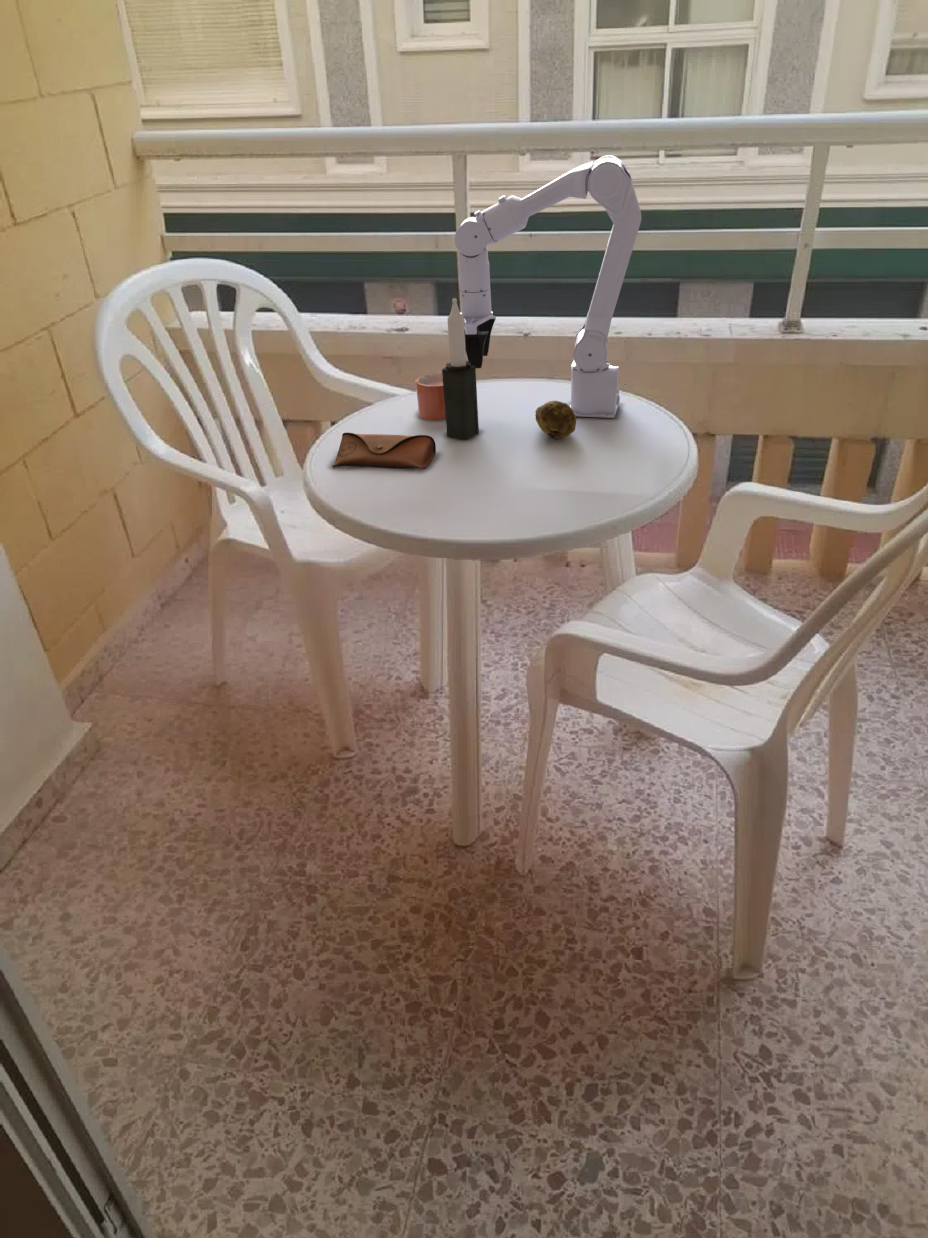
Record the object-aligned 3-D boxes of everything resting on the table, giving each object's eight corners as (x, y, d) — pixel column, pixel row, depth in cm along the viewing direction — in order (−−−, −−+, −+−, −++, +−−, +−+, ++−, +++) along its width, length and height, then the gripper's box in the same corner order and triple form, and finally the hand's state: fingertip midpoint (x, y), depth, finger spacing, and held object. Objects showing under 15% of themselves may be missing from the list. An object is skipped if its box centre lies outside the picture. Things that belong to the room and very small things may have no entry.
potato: (582, 426, 157) (583, 385, 153) (573, 453, 147) (573, 410, 143) (539, 424, 159) (539, 384, 155) (527, 451, 149) (526, 408, 145)
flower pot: (462, 406, 170) (460, 373, 166) (451, 421, 164) (449, 386, 160) (425, 405, 172) (422, 372, 168) (413, 419, 166) (410, 385, 162)
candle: (465, 440, 155) (456, 302, 141) (444, 435, 158) (433, 299, 143) (481, 431, 158) (474, 296, 144) (460, 426, 161) (451, 293, 147)
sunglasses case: (329, 466, 148) (330, 428, 147) (342, 470, 154) (343, 434, 154) (426, 468, 144) (428, 430, 144) (435, 473, 151) (437, 436, 151)
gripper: (461, 280, 161) (465, 350, 168) (446, 299, 149) (452, 373, 157) (497, 279, 159) (499, 349, 167) (485, 298, 148) (488, 373, 155)
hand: (479, 361), depth 162 cm, fingers open, 7 cm apart
